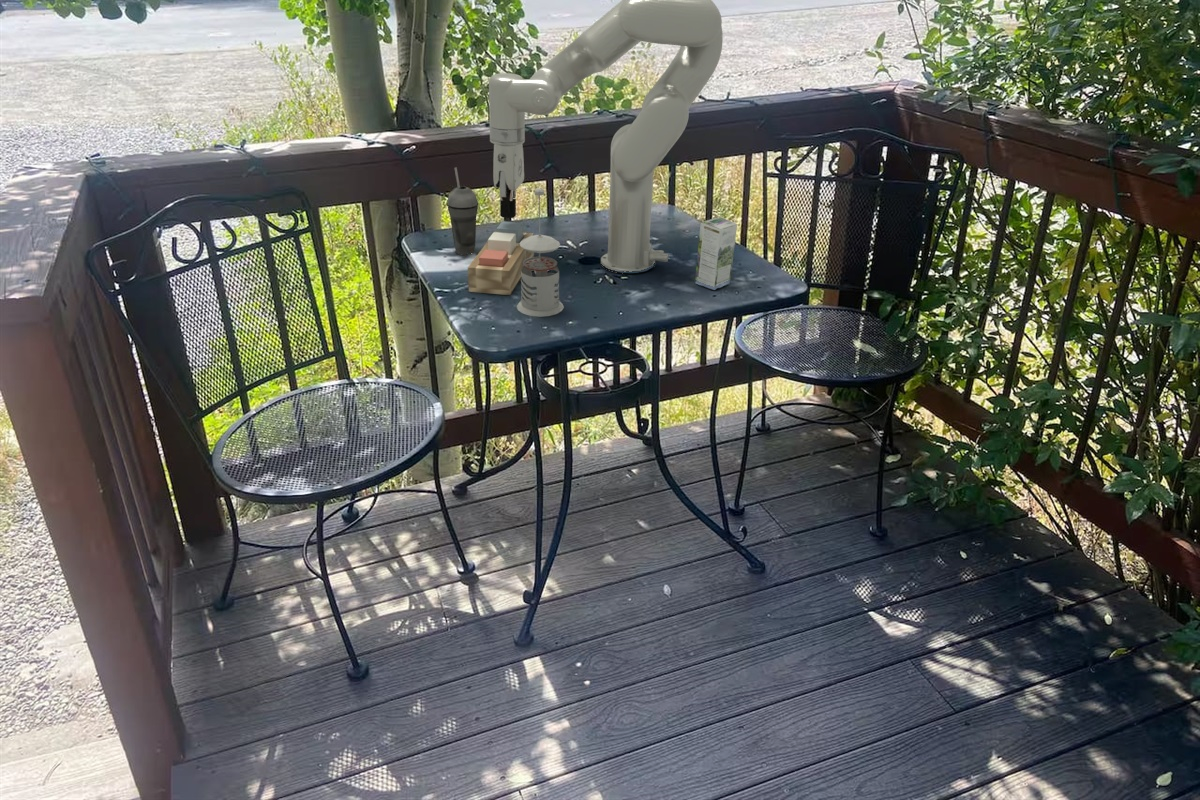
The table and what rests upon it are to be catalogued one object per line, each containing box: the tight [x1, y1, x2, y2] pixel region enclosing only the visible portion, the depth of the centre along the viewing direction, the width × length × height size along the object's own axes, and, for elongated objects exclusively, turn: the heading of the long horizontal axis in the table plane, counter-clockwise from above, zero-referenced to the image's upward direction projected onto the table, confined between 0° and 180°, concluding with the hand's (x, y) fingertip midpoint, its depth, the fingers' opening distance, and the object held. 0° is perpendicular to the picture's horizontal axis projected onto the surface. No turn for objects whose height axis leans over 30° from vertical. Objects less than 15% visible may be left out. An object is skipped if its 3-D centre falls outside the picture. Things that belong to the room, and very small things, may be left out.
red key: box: [479, 250, 508, 267], centre depth 191 cm, size 5×5×4 cm
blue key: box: [496, 220, 524, 243], centre depth 203 cm, size 5×5×4 cm
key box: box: [467, 229, 535, 296], centre depth 198 cm, size 9×24×6 cm, turn 171°
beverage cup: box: [446, 167, 479, 256], centre depth 205 cm, size 7×7×20 cm
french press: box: [516, 187, 565, 318], centre depth 179 cm, size 10×12×25 cm
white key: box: [487, 231, 516, 255], centre depth 196 cm, size 5×5×4 cm
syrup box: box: [694, 216, 738, 287], centre depth 193 cm, size 6×6×14 cm
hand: (508, 216), depth 201 cm, fingers closed
